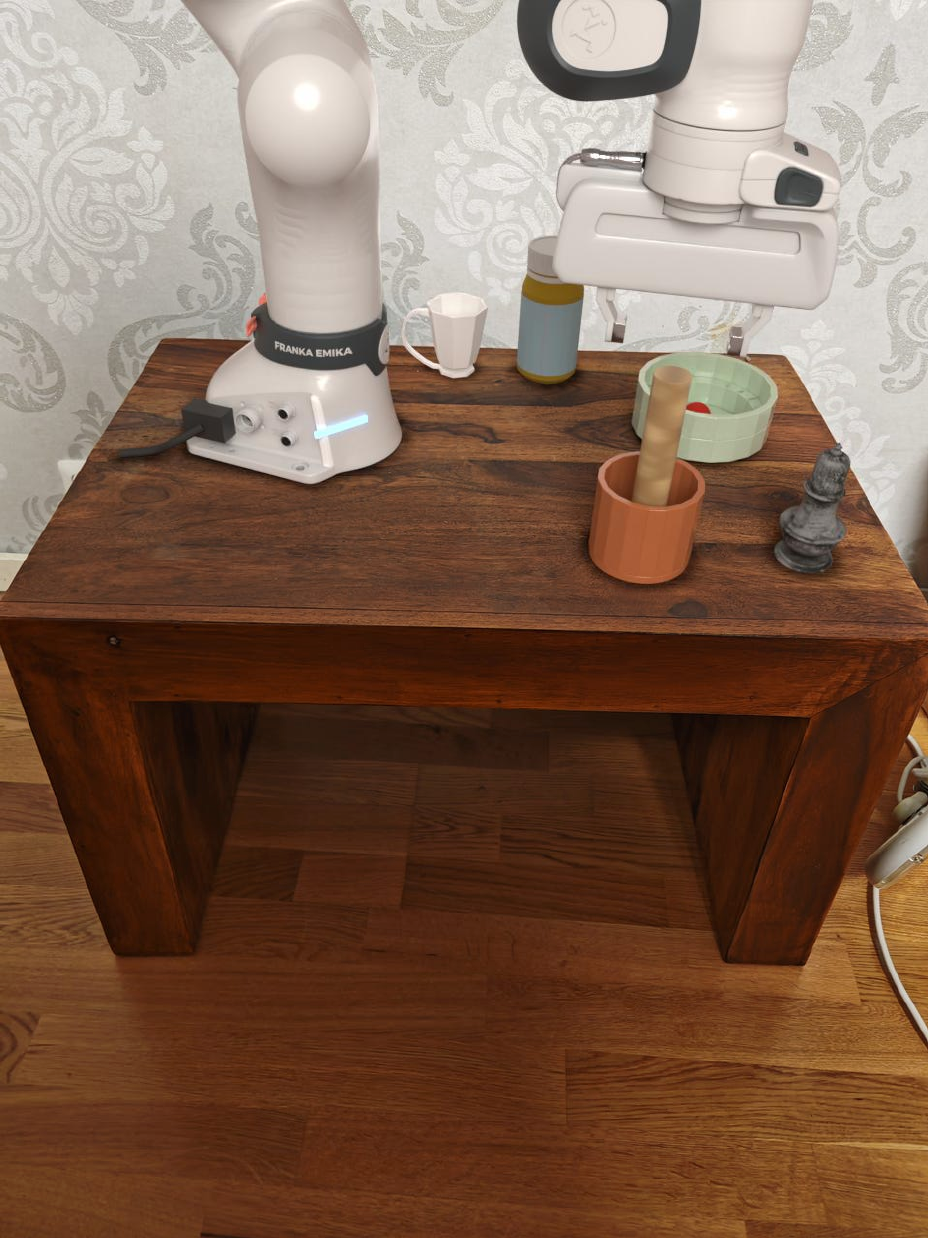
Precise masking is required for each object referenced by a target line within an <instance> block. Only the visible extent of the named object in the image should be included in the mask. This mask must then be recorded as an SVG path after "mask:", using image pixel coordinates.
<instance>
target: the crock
mask: <svg viewBox="0 0 928 1238" xmlns="http://www.w3.org/2000/svg"><path fill="white" fill-rule="evenodd" d="M639 455H640V450H635V451H630V452H624V453H623V452H622V453H619V454H617V455H615V456H613V457H611V458H608V459H606V460H605V462H603V464H602V465H601V466H600V467H599V468H598V474H597V480H596V487H595V493H594V502H593V509H592V516H591V524H590V532H589V537H588V538H589V539H588V547H587V548H588V555H589V556H590V559H591V560H592V562H593V564H595V566H596V567H597V568H598V569H600V571H602V572H604V573H606V575H609V576H610V577H613V578H615V579H617V580H621V581H623V582H626V583H627V582H628V583H633V584H641V585H652V584H654V585H655V584H661V583H664V582H665V583H666V582H668V581H671V580H673V579H676V578H677V577H678V576H680V575H681V574H682V573H683V572H684V571H685V570H686V568H687V567H688V565H689V561H690V559H691V555H692V551H693V546H694V541H695V536H696V533H697V529H698V524H699V519H700V515H701V510H702V507H703V502H704V497H705V495H706V494H705V493H706V481H705V479H704V477H703V475H702V474H701V473H700V471H699V470H698V468H695V467H694V466H693V465H691V464H690V463H689V462H687V461H686V460H684V459H681V458H678V457H676V461H675V466H674V471H673V476H672V481H671V486H670V491H669V496H668V501H667V506H666V507H659V506H646V505H642V504H638V503H633V502H632V496H633V490H634V484H635V478H636V473H637V467H638V461H639Z"/></svg>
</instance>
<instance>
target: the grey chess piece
mask: <svg viewBox="0 0 928 1238" xmlns="http://www.w3.org/2000/svg"><path fill="white" fill-rule="evenodd" d="M842 449H843V446H842V444H841V442H838V443H836V444H835V445H833V448H826V449H824V450H822V451H820V452H819V453H818V454H817V456H816V458H815V461H814V465H813V468H812V471H811V475H810V478H808V479H806V480H805V481H804V483H803V490H804V494H803V497H802V500H801V504H800V505H795V506H791V507H788V508H787V509H785V510H783V511H782V512H781V514H780V515H779V524H780V532H781V537H782V539H780V540H779V541H778V542H777V543H775V545H774V548H773V554H774V557H775V558H776V560H777V561H778V562H779V563H780V564H781V565H783V566H784V567H786V568H787V569H790V570H792V571H795V572H798V573H803V574H819V573H823V572H825V571H827V570H829V569H830V568H831V566H832V565H833V562H834V561H833V555H832V553H831V552H832V551H833V550H834V549H835V548H836V547H837V546H838V545H839V543H840V542H842V541H843V540H844V538H845V537H846V536H847V531H848V528H847V526H846V524H845V522H844V521H843V520H842V518H840V516H838V515H837V514H836V513H837V509H838V507H839V504H840V501H841V500H843V499H844V498H845V497H846V494H847V491H846V489H845V486H844V485H845V483H846V479H847V477H848V474H849V471H850V468H851V462H852V461H851V458H850V457H849V455H848V454H847V453H845V452H844V451H843V450H842Z"/></svg>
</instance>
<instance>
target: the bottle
mask: <svg viewBox="0 0 928 1238" xmlns="http://www.w3.org/2000/svg"><path fill="white" fill-rule="evenodd" d="M556 240H557V235H542V236H538V237H535V238H533V239H531V240H530V241H529V242H528V246H527V259H526V262H527V265H526V275H525V277H524V279H523V282H522V284H521V291H520V306H519V319H518V320H519V321H518V335H517V337H518V338H517V339H518V340H517V350H516V351H517V352H516V353H517V354H516V368H517V371H518V372H519V373H520V374H521V376H523V377H524V379H526V380H528V381H530V382H533V383H537V384H542V385H555V384H560V383H563V382H565V381H567V380H569V378H571V377H572V376H573V375H574V374H575V372H576V369H577V362H578V353H579V352H578V351H579V343H580V335H581V324H582V315H583V308H584V307H583V306H584V298H585V297H584V296H585V285H577V284H568V283H562V282H561V281H560V280H559V279H558V277H557V276H556V274H555V273H554V271H553V269H552V265H553V257H554V251H555V245H556Z"/></svg>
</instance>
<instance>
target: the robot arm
mask: <svg viewBox="0 0 928 1238" xmlns="http://www.w3.org/2000/svg"><path fill="white" fill-rule="evenodd" d="M179 1H180V2H181V3H182V4H183V5H184V7H185V8H186V9H187V10H188V12H189V13H190V14H191V15H192V17H193V18H194V19H195V20H196V21H197V22H198V24H199V25H200V26H201V28H202V29H203V30H204V31H205V33H206V34H207V35H208V37H209V38H210V39H211V41H212V42H213V43H214V44H215V46H216V47H217V48H218V50H219V51H220V52H221V54H222V55H223V57H225V59H226V60H227V62H228V64H229V65H230V67H231V68H232V69H233V71H234V73H235V75H236V77H237V78H238V83H237V84H238V85H237V91H236V92H237V95H236V97H237V100H236V101H237V110H238V117H239V124H240V130H241V131H240V132H241V137H242V144H243V150H244V156H245V157H244V158H245V162H246V163H245V164H246V169H247V176H248V181H249V188H250V192H251V196H252V203H253V208H254V209H253V210H254V214H255V217H256V223H257V230H258V237H259V247H260V255H261V263H262V272H263V281H264V290H265V292H264V293H263V295H262V296H260V298H259V299H258V306H257V307H256V308H255V309H253V311H252V312H251V313H250V319H249V320H248V322H246V323H245V326H244V329H245V330H246V334H245V337H246V338H250V337H251V336H252V335H253V339H251V341H249V342H248V343H247V344H245V345H244V346H243V347H240V349H239V350H237V351H236V352H234V353H233V354H232V355H230V356H229V357H227V358H226V359H225V360H224V362H223V363H221V365H220V366H219V367H218V368H217V369H216V371H215V372H214V373H213V375H212V376H211V379H210V381H209V383H208V385H207V388H206V393H205V397H204V399H203V398H202V399H201V398H199V397H198V398H197V397H194V398H192V399H191V400H190V401H189V402H187V403H186V404H185V405H184V406H182V407H181V408H180V412H181V418H182V423H183V428H184V432H182V433H181V434H179V435H177V436H175V437H172V438H171V439H169V440H166V441H165V442H162V443H159V444H156V445H155V444H154V445H151V446H143V447H133V448H131V447H130V448H121V449H118V456H119V458H120V459H123V458H134V457H135V458H137V457H147V456H154V455H158V454H162V453H165V452H167V451H170V450H171V449H174V448H177V447H178V446H180V445H182V444H184V443H186V447H187V451H188V452H189V453H190V454H192V455H196V456H199V457H203V458H207V459H210V460H213V461H218V462H222V463H226V464H229V465H233V466H237V467H241V468H245V469H249V470H252V471H255V472H260V473H264V474H268V475H272V476H275V477H279V478H283V479H286V480H290V481H294V482H298V483H302V484H306V485H313V484H318V483H321V482H323V481H325V480H328V479H329V478H332V477H333V476H336V475H337V474H341V473H345V472H351V471H355V470H359V469H363V468H367V467H370V466H372V465H374V464H377V463H379V462H381V461H383V460H384V459H386V458H387V457H389V456H390V455H392V454H393V453H394V452H395V451H396V450H397V449H398V447H399V446H400V444H401V442H402V438H403V430H402V427H401V423H400V421H399V419H398V416H397V412H396V409H395V405H394V401H393V396H392V392H391V386H390V380H389V374H388V373H389V372H388V364H389V359H390V326H389V324H388V311H387V310H388V309H387V306H386V305H385V302H384V301H383V282H382V281H383V279H382V256H381V255H382V253H381V252H382V250H381V249H382V248H381V203H380V202H381V189H380V187H381V184H380V183H381V182H380V181H381V180H380V175H381V173H380V171H381V169H380V117H379V116H380V115H379V114H380V113H379V97H378V92H377V91H378V90H377V86H376V79H375V76H374V69H373V65H372V59H371V53H370V50H369V45H368V43H367V41H366V39H365V36H364V35H363V32H362V31H361V29H360V27H359V25H358V24H357V22H356V20H355V18H354V17H353V14H352V13H351V11H350V9H349V7H348V5H347V4H346V2H345V0H179ZM813 5H814V0H518V4H517V11H516V12H517V13H516V29H517V37H518V42H519V46H520V50H521V52H522V55H523V58H524V60H525V62H526V64H527V67H529V70H530V71H531V73H532V74H533V75H534V77H535V78H536V79H537V80H538V81H539V82H540V84H542V85H543V86H544V87H545V88H547V90H549V91H551V92H552V93H554V94H555V95H557V96H559V97H561V98H564V99H567V100H570V101H575V102H588V103H589V102H590V103H591V102H605V101H615V100H616V101H617V100H625V99H633V98H641V97H647V96H652V95H653V104H652V108H651V109H652V110H651V118H650V123H649V124H650V125H649V130H648V137H647V143H646V150H645V152H641V151H631V150H630V151H629V150H601V148H597V147H584V148H581V151H580V152H577V153H574V154H571V155H569V156H568V157H566V158H565V159H564V160H563V162H562V163H560V166H559V168H558V171H557V176H556V186H555V187H556V188H555V198H556V202H557V205H558V206H559V208H560V209H561V210H562V217H561V219H560V222H559V227H558V231H557V235H556V236H557V240H556V245H555V251H554V257H553V265H552V269H553V271H554V273H555V274H556V276H557V277H558V279H559V280H560V281H561V282H562V283H568V284H577V285H584V286H586V287H596V293H595V295H596V296H595V301H596V304H597V305H598V308H599V310H600V312H601V314H602V316H603V318H604V321H605V322H606V328H605V335H604V342H605V343H614V344H615V343H616V344H624V340H625V333H626V327H627V321H628V314H625V313H619V312H618V311H617V307H616V306H615V303H614V301H615V296H616V293H617V290H623V291H632V292H633V291H634V292H642V293H652V294H660V295H667V296H668V295H669V296H670V295H671V296H676V297H677V296H678V297H689V298H697V299H706V300H714V301H722V302H723V301H725V302H733V303H743V304H751V311H752V312H751V313H752V314H751V316H750V317H749V318H748V319H747V320H746V322H744V323H743V325H742V326H741V327H740V326H733V325H732V326H730V330H729V334H728V339H727V343H726V350H725V352H726V355H725V356H728V357H733V358H744V359H745V358H746V357H747V356H748V351H749V346H750V343H751V339H753V338H755V336H756V335H757V334H759V332H760V331H761V330H762V329H763V328H764V327H765V326H766V325H767V324H768V323H769V322H770V321H771V320H772V317H773V313H774V309H775V307H779V308H787V309H797V310H804V311H805V310H806V311H813V310H816V309H817V308H819V307H820V306H821V305H822V304H823V303H824V302H825V301H827V300H828V298H829V296H830V294H831V289H832V286H833V282H834V278H835V271H836V267H837V261H838V254H839V248H840V247H839V246H840V228H839V222H838V219H837V214H836V211H835V208H834V206H835V205H836V204H837V202H838V199H839V197H840V194H841V193H840V192H841V188H842V176H841V171H840V169H839V166H838V163H837V162H836V161H835V159H834V158H833V156H832V155H831V154H830V153H829V152H828V151H826V150H825V149H822V148H820V147H818V146H815V145H814V144H810V143H808V142H806V141H804V140H802V139H800V138H798V137H795V136H794V135H791V134H789V133H788V132H785V127H786V123H787V119H788V112H789V102H788V91H789V82H790V78H791V74H792V71H793V68H794V66H795V63H796V62H797V60H798V58H799V56H800V55H801V52H802V49H803V47H804V45H805V41H806V37H807V32H808V28H809V23H810V19H811V15H812V11H813ZM578 160H579V162H575V161H578Z"/></svg>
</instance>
